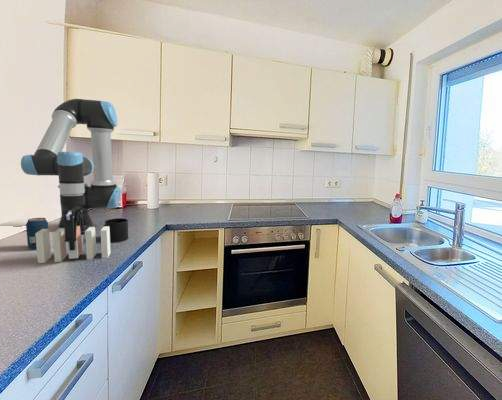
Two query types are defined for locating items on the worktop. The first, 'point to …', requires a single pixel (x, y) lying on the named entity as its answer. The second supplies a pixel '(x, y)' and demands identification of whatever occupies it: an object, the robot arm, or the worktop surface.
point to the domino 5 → (105, 241)
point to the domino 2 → (59, 244)
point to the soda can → (34, 230)
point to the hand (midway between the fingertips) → (76, 254)
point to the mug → (117, 229)
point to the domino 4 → (90, 243)
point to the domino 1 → (43, 245)
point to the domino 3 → (78, 240)
